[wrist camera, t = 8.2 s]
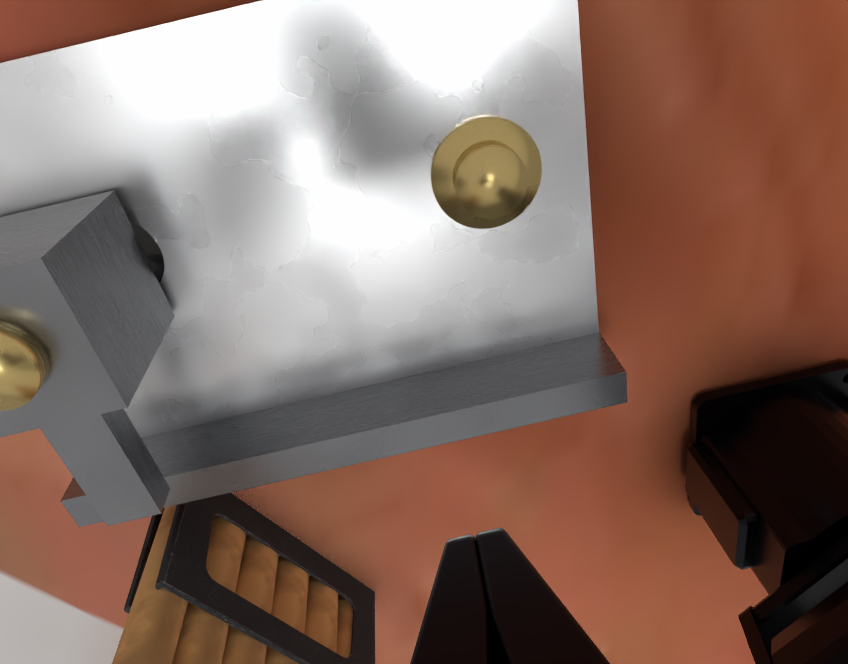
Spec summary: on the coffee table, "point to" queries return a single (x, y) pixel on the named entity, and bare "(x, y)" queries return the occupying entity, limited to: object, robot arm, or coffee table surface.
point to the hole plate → (333, 224)
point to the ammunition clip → (240, 594)
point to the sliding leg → (82, 345)
